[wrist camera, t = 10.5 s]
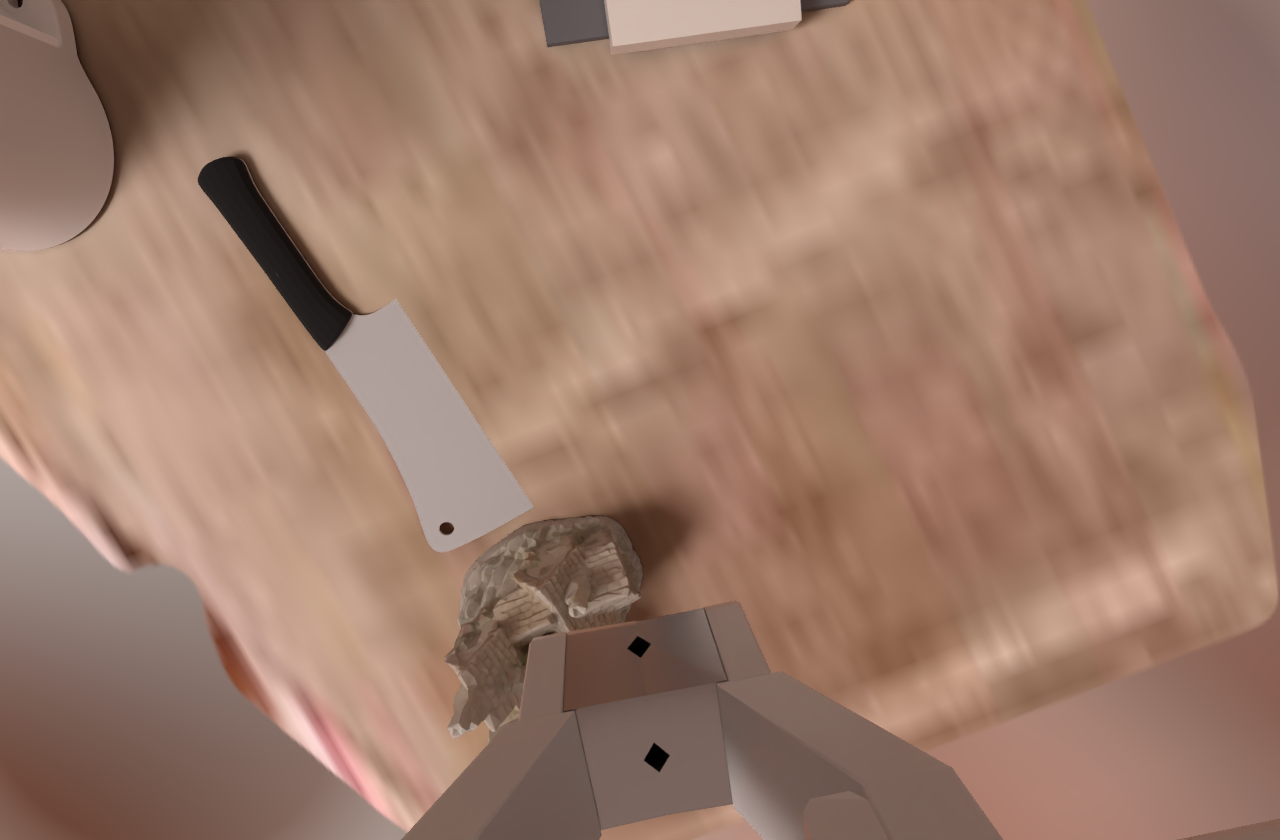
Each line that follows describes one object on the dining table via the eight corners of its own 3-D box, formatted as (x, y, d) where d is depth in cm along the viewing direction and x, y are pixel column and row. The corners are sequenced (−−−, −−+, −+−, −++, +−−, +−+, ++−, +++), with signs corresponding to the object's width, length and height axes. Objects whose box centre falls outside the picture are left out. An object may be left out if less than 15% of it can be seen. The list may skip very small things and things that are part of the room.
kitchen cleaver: (552, 500, 47) (439, 565, 46) (551, 493, 49) (442, 556, 48) (309, 108, 38) (167, 181, 38) (318, 115, 40) (181, 185, 39)
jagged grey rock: (499, 713, 52) (478, 876, 38) (435, 547, 48) (383, 658, 34) (669, 657, 53) (712, 795, 39) (620, 491, 49) (647, 574, 35)
